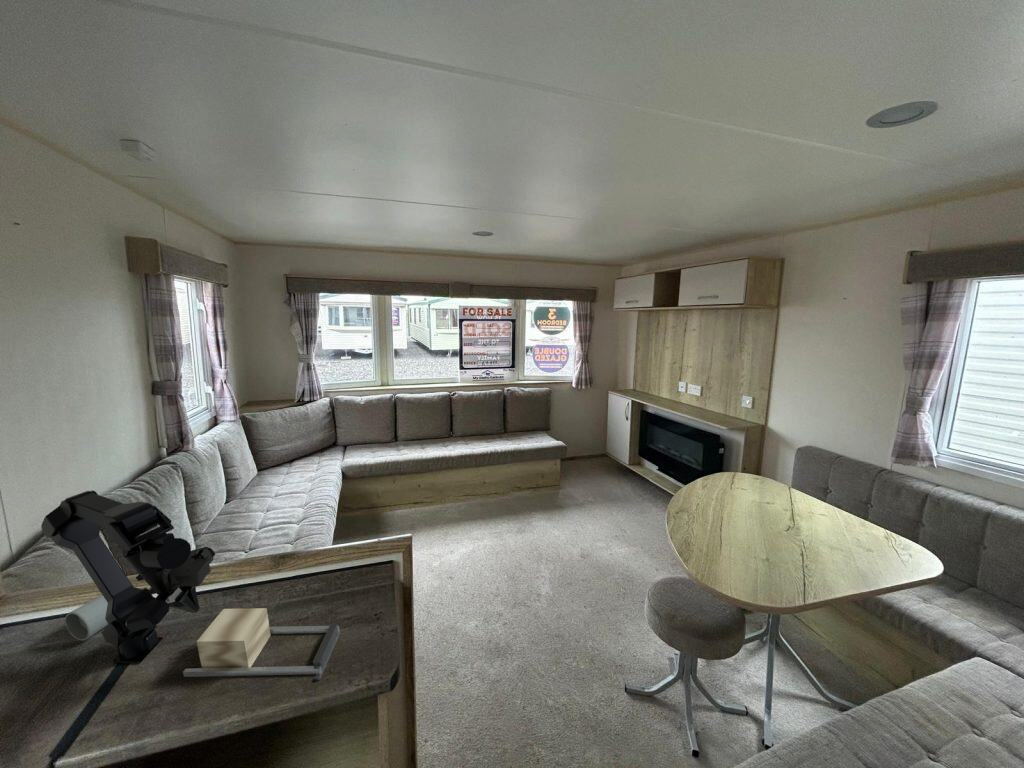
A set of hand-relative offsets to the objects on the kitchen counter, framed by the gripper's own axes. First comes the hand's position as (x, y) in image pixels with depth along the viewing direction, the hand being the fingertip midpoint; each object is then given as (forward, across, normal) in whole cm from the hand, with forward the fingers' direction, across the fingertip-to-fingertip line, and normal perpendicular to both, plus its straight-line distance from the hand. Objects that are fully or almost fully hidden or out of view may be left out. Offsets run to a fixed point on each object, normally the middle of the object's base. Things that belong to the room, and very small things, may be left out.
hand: (196, 611), depth 90 cm
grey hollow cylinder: (+4, +7, +36) cm, 37 cm away
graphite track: (+16, -2, -10) cm, 19 cm away
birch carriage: (+13, -2, -4) cm, 14 cm away
